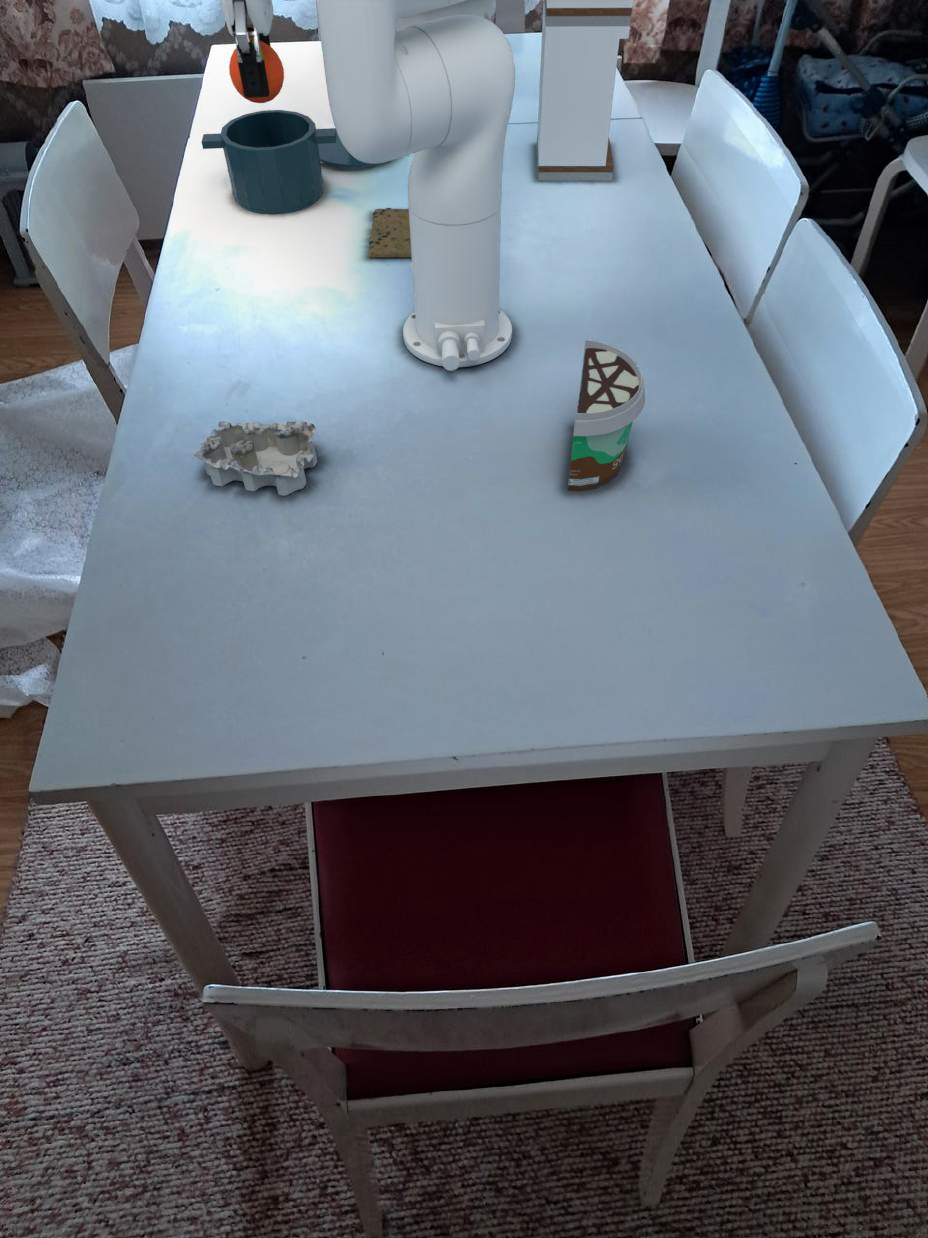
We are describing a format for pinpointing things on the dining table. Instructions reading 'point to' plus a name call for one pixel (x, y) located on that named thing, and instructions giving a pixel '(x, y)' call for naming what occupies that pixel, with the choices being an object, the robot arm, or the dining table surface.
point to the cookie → (390, 233)
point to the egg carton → (260, 455)
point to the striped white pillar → (578, 87)
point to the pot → (273, 159)
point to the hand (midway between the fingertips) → (259, 82)
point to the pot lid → (339, 156)
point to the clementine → (272, 70)
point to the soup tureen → (453, 12)
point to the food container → (604, 415)
